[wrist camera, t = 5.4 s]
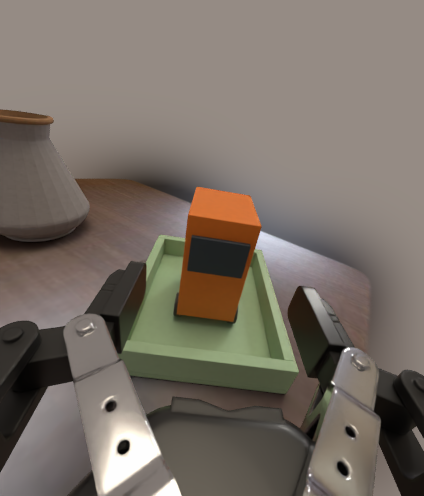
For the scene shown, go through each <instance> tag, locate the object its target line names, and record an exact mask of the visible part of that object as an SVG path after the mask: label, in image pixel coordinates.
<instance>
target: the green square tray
mask: <svg viewBox="0 0 424 496" xmlns="http://www.w3.org/2000/svg"><path fill="white" fill-rule="evenodd" d="M184 246H185V238H179V237H172V236H166V235H159V237H158V239H157V241H156V243H155V245H154V247H153V249H152V251H151V253H150V255H149V257H148V260H147V262H146V266H147V269H146V292H145V296H144V299H143V301H142V304H141V306H140V309H139V311H138V314H137V316H136V319H135V321H134V324H133V326H132V329H131V331H130V334H129V336H128V339H127V341H126V344H125V346H124V349H123V351H122V354H118V353H117V354H118V356H119V358H120V359H122V360H123V361H124V363H125V365H126V367H127V370H128V372H129V375H130V376H138V377H146V378H155V379H163V380H172V381H180V382H189V383H197V384H205V385H214V386H222V387H231V388H239V389H247V390H256V391H264V392H273V393H281V394H286V393H287V391H288V390H289V388H290V386H291V385H292V383H293V381H294V380H295V378H296V376H297V375H298V373H299V371H298V368H297V365H296V362H295V358H294V355H293V351H292V348H291V345H290V342H289V338H288V335H287V332H286V329H285V325H284V322H283V319H282V315H281V312H280V309H279V306H278V302H277V299H276V296H275V293H274V289H273V286H272V283H271V279H270V276H269V273H268V270H267V266H266V263H265V260H264V256H263V254H262V250H256V249H255V250H254V254H253V257H252V260H251V264H250V267H249V270H248V274H247V277H246V280H245V284H244V287H243V291H242V294H241V297H240V301H239V304H238V316H237V320H236V323H235V324H232V323H227V321H223V320H215V319H208V318H201V317H193V316H186V315H182V316H181V317H180V316H174V315H173V311H174V304H175V299H176V294H177V292H179V289H180V280H181V272H182V263H183V255H184Z"/></svg>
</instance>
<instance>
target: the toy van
mask: <svg viewBox="0 0 424 496" xmlns="http://www.w3.org/2000/svg"><path fill="white" fill-rule="evenodd" d="M260 230H261V224H260V221H259V218H258V216H257V213H256V210H255V207H254V205H253V202H252V199H251V197H250V196H249V195H243V194H237V193H231V192H225V191H219V190H212V189H207V188H201V187H197V188H196V191H195V194H194V198H193V201H192V204H191V207H190V211H189V214H188V220H187V229H186V238H185V246H184V255H183V263H182V272H181V280H180V289H179V292H177V294H176V299H175V304H174V311H173V315H174V316H180V317H181V316H182V315H186V316H193V317H201V318H208V319H215V320H223V321H227V323H232V324H235V323H236V320H237V316H238V304H239V301H240V297H241V294H242V291H243V287H244V284H245V280H246V277H247V274H248V270H249V267H250V264H251V260H252V257H253V254H254V250H255V247H256V243H257V240H258V237H259V233H260Z"/></svg>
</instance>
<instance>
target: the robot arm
mask: <svg viewBox="0 0 424 496" xmlns="http://www.w3.org/2000/svg"><path fill="white" fill-rule="evenodd" d="M146 269H147V266H146V263H141V262H134V261H131V262H130V263H129V265H128V266H127V268H126V270H119V269H118V270H117V271H115V272H114V273H112V274H111V275H110V276H109V277H108V279H107V280H106V282H105V284H104V285H103V286H102V288H101V290H100V291H99V293H98V294H97V296H96V297H95V299H94V300H93V302H92V303H91V305H90V306H89V308H88V309H87V311H86V312H85V313H84V314H83V315H80V316H77V317H75V318H74V319H72V320H71V321H70V322H68V324H67V325H66V326H63V327H56V328H49V329H41V330H39V329H38V327H37V325H36V324H35V323H33V322H31V321H17V322H13V323H10V324H7V325H5V326H3V327H1V328H0V472H1V470H2V469H3V467H4V465H5V463H6V461H7V460H8V458H9V456H10V454H11V452H12V451H13V449H14V447H15V445H16V443H17V442H18V440H19V438H20V436H21V434H22V433H23V431H24V429H25V427H26V425H27V424H28V422H29V420H30V418H31V416H32V415H33V413H34V411H35V409H36V407H37V406H38V404H39V402H40V400H41V398H42V397H43V395H44V393H45V391H46V389H47V388H48V386H52V385H57V384H62V383H67V382H72V381H73V383H74V388H75V392H76V397H77V401H78V406H79V411H80V415H81V420H82V424H83V429H84V434H85V438H86V443H87V448H88V452H89V457H90V461H91V466H92V470H91V471H90V472H89V473H88V474H87V475H86V476H85V477H84V478H83V479H82V480H81V481H80V482H79V484H78V485H77V486H76V487H75V488H74V489H73V490H72V491H71V492H70V493H69V494H68V495H67V496H373V488H374V480H375V471H376V462H377V452H378V443H379V445H380V447H381V450H382V452H383V454H384V456H385V459H386V461H387V464H388V466H389V468H390V470H391V473H392V475H393V477H394V480H395V482H396V484H397V487H398V489H399V491H400V493H401V496H424V451H423V449H422V448H421V446H420V444H419V442H418V440H417V438H416V437H415V435H414V433H413V431H412V429H413V428H414V427H416V426H417V428H418V429H419V431H420V433H421V434H422V436H423V438H424V376H423V375H421V374H419V373H417V372H415V371H412V370H404V371H402V372H401V373H400V374H399V375H398V376H397V375H394V374H392V373H389V372H387V371H384V370H382V369H379V368H378V367H377V365H376V363H375V362H374V361H373V360H372V359H371V358H370V357H369V356H368V355H367V354H366V353H364V352H363V351H361V350H359V349H356V348H355V347H354V345H353V344H352V342H351V340H350V338H349V337H348V335H347V333H346V331H345V330H344V328H343V326H342V325H341V323H340V321H339V319H338V318H337V317H336V314H335V312H334V311H333V309H332V307H331V306H330V305H329V304H328V303H327V302H326V301H325V300H324V299H321V298H320V297H319V295H318V293H317V291H316V289H315V288H311V287H304V286H299V287H298V288H297V289H296V292H295V294H294V296H293V298H292V300H291V303H290V305H289V307H288V319H289V322H290V325H291V328H292V331H293V334H294V337H295V340H296V343H297V346H298V349H299V352H300V355H301V358H302V361H303V364H304V367H305V370H306V373H307V376H308V377H309V378H318V380H319V385H318V386H317V388H316V391H315V393H314V396H313V398H312V401H311V404H310V406H309V409H308V411H307V414H306V416H305V419H304V421H303V423H302V425H301V427H300V428H298V427H297V426H295V425H294V424H293V423H291V422H289V421H287V420H285V419H284V418H283V414H282V409H279V408H270V407H261V406H252V407H247V408H242V409H236V410H231V411H227V410H224V409H222V408H219V407H217V406H214V405H212V404H209V403H207V402H205V401H202V400H199V399H190V398H181V397H172V403H171V405H170V406H165V407H162V408H159V409H157V410H154V411H152V412H151V413H149V414H147V415H146V414H145V412H144V409H143V407H142V404H141V402H140V399H139V397H138V394H137V392H136V390H135V387H134V385H133V382H132V380H131V377H130V375H129V372H128V370H127V367H126V365H125V363H124V361H123V360H122V359H120V358H119V356H118V354H122V351H123V349H124V346H125V344H126V341H127V339H128V336H129V334H130V331H131V329H132V326H133V324H134V321H135V319H136V316H137V314H138V311H139V309H140V306H141V304H142V301H143V299H144V296H145V292H146ZM117 353H118V354H117Z"/></svg>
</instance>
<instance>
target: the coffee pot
mask: <svg viewBox="0 0 424 496" xmlns="http://www.w3.org/2000/svg"><path fill="white" fill-rule="evenodd" d="M53 122H54V120H53V118H52V117H50V116H44V115H39V114H33V113H27V112H19V111H11V110H0V234H1V235H3V236H6V237H8V238H10V239H13V240H17V241H25V242H37V241H47V240H53V239H56V238H60V237H63V236H65V235H67V234H69V233H71V232H72V231H73V230H74V229H75V228H76V227H77V226H78V225H80V224H81V223H82V222H83V221H84V219H85V218H86V216H87V214H88V212H89V202H88V200H87V199H86V197H85V196H84V194H83V192H82V191H81V189H80V187H79V186H78V184H77V183H76V181H75V179H74V178H73V176H72V174H71V173H70V171H69V170H68V168H67V166H66V165H65V163H64V161H63V160H62V158H61V157H60V155H59V153H58V152H57V150H56V149H55V147H54V145H53V144H52V142H51V140H50V138H49V133H50V124H52V123H53Z"/></svg>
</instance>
